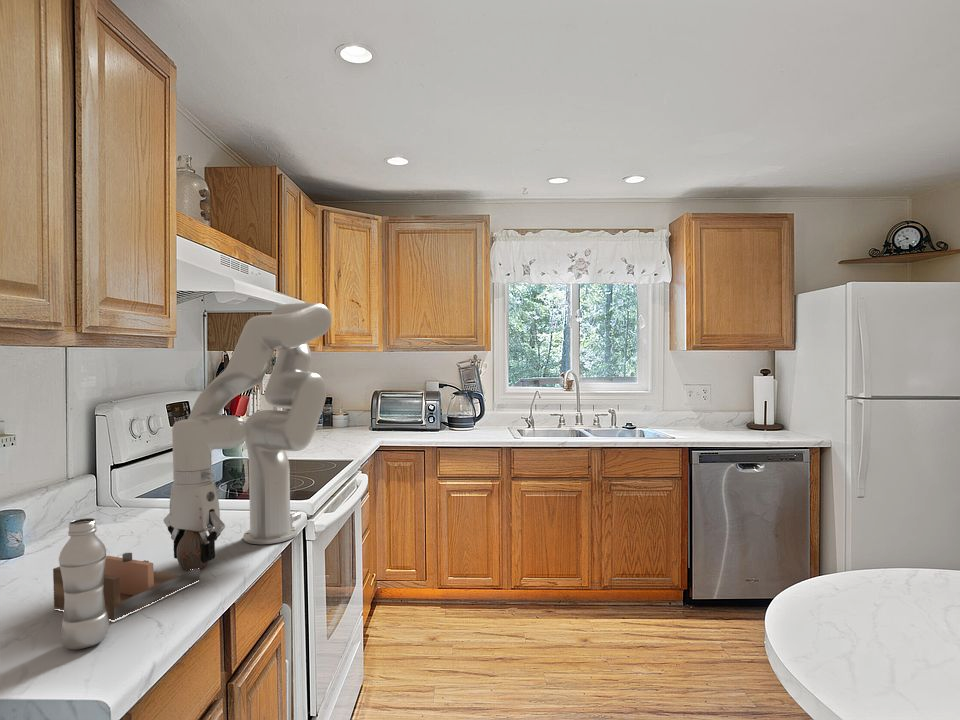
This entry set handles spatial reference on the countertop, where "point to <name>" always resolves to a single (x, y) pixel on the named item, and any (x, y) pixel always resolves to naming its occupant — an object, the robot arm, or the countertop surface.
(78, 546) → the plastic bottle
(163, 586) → the pusher lane
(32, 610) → the countertop surface
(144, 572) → the pusher plate
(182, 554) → the vase
